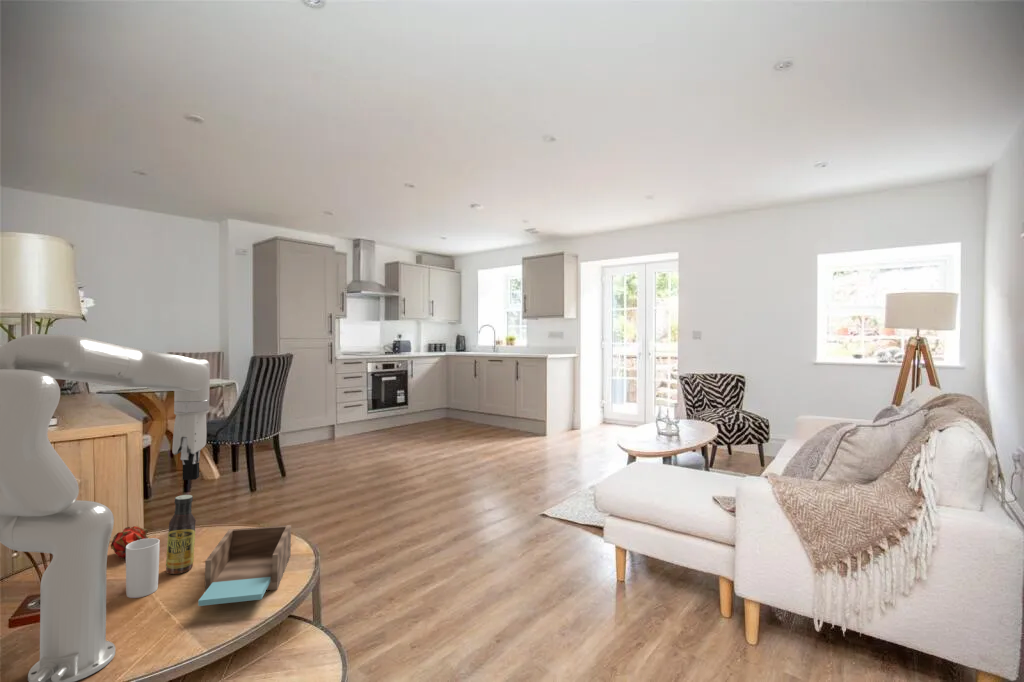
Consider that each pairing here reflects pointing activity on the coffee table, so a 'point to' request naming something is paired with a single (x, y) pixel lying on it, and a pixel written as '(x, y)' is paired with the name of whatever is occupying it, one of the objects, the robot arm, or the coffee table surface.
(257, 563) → the box
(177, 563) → the sauce bottle
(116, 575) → the coffee table surface
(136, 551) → the white oval vase
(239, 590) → the panel
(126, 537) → the dragon fruit
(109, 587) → the coffee table surface
